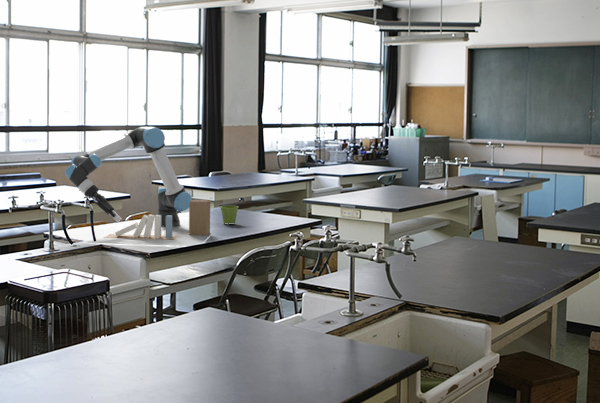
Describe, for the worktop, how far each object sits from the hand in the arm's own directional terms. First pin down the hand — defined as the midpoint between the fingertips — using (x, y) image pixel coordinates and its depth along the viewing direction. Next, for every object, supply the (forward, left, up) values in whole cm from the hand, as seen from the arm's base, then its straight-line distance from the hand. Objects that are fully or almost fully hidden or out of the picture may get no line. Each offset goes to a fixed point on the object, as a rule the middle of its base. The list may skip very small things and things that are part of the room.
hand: (119, 220), depth 366 cm
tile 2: (0, +9, -8) cm, 12 cm away
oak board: (0, +12, -10) cm, 15 cm away
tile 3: (0, +15, -8) cm, 17 cm away
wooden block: (-16, +41, -10) cm, 45 cm away
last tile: (0, +27, -9) cm, 28 cm away
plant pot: (-62, +52, -10) cm, 81 cm away
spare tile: (0, -1, -7) cm, 8 cm away
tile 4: (0, +21, -9) cm, 23 cm away
